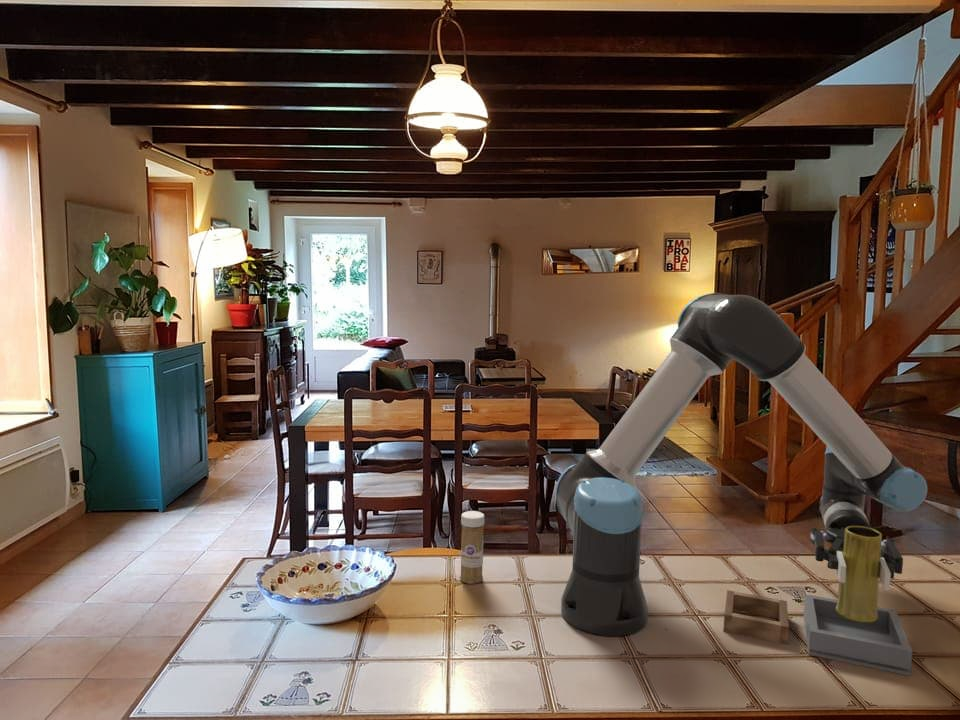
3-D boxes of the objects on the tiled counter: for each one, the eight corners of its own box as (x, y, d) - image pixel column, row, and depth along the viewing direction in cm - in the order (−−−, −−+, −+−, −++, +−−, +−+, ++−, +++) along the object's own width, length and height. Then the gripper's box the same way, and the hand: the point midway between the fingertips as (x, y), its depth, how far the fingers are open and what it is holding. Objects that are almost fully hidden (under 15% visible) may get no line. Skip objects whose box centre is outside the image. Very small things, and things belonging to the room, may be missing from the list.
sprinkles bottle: (460, 585, 130) (461, 518, 128) (459, 574, 134) (460, 510, 133) (484, 584, 130) (485, 518, 129) (482, 574, 135) (483, 510, 133)
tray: (808, 654, 107) (810, 631, 107) (803, 615, 120) (805, 594, 120) (909, 675, 102) (912, 651, 102) (893, 632, 115) (895, 610, 114)
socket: (723, 631, 114) (724, 614, 114) (726, 605, 123) (727, 590, 123) (787, 644, 110) (788, 627, 110) (785, 616, 120) (786, 601, 119)
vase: (876, 610, 112) (883, 528, 110) (879, 626, 107) (887, 541, 105) (835, 602, 115) (841, 522, 113) (836, 617, 109) (843, 534, 108)
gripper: (902, 555, 123) (932, 612, 102) (792, 539, 130) (798, 589, 109) (906, 516, 122) (936, 565, 101) (795, 502, 129) (801, 545, 108)
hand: (864, 577), depth 105 cm, fingers closed on vase, 5 cm apart
